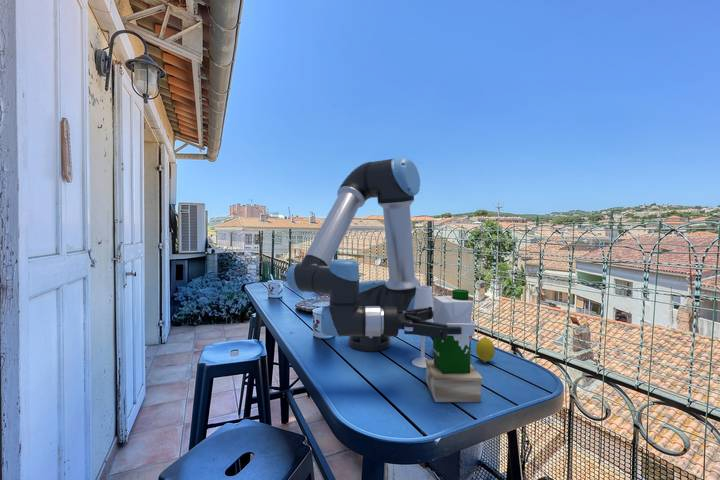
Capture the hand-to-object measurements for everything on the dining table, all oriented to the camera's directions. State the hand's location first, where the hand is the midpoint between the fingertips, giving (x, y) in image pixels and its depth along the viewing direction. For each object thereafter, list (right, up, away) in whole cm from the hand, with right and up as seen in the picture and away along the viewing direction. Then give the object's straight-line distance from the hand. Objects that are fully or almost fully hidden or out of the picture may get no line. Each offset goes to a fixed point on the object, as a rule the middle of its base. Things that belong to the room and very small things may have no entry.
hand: (464, 321), depth 85 cm
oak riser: (-3, -18, 0) cm, 18 cm away
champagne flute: (-7, -18, +18) cm, 27 cm away
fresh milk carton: (-3, -12, 0) cm, 13 cm away
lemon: (+13, -18, +19) cm, 29 cm away
